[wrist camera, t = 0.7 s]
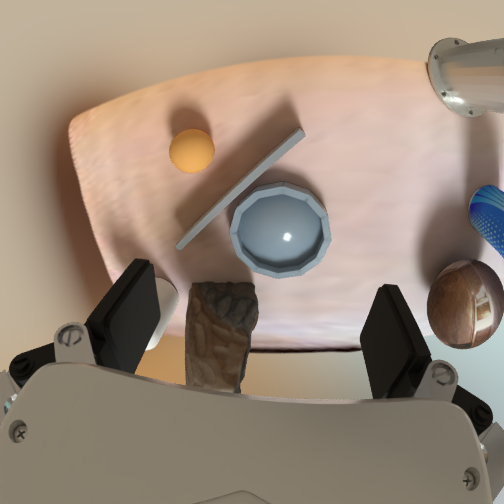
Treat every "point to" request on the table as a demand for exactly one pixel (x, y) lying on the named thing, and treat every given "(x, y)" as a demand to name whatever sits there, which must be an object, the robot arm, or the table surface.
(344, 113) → the table surface
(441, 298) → the wooden sphere
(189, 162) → the ball
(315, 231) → the bowl
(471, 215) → the beer can
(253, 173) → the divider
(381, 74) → the table surface
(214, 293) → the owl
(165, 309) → the pill bottle
